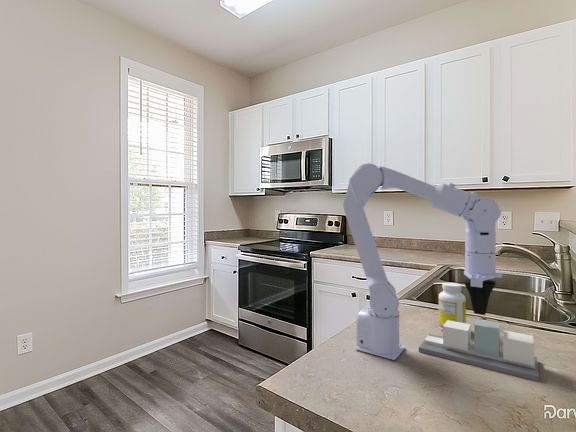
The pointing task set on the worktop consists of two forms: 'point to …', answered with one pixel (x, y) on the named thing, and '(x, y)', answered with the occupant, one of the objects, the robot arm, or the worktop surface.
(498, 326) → the block
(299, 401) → the worktop surface
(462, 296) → the supplement bottle
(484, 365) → the board
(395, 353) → the robot arm
